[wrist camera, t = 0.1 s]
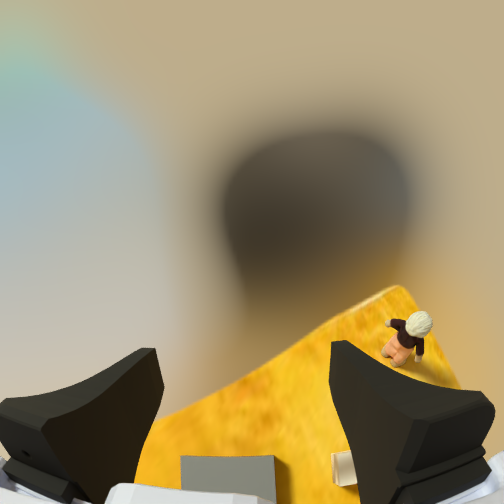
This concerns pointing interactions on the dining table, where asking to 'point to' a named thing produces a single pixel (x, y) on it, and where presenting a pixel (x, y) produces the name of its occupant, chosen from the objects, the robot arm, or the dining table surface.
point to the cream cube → (343, 468)
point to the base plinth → (230, 475)
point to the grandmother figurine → (407, 338)
